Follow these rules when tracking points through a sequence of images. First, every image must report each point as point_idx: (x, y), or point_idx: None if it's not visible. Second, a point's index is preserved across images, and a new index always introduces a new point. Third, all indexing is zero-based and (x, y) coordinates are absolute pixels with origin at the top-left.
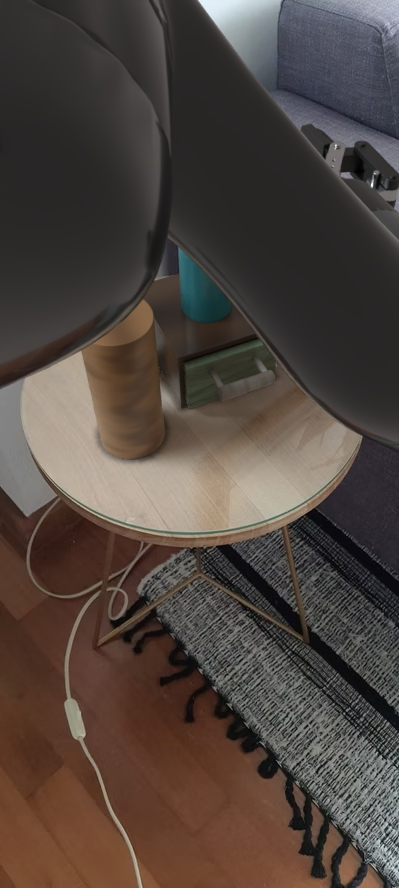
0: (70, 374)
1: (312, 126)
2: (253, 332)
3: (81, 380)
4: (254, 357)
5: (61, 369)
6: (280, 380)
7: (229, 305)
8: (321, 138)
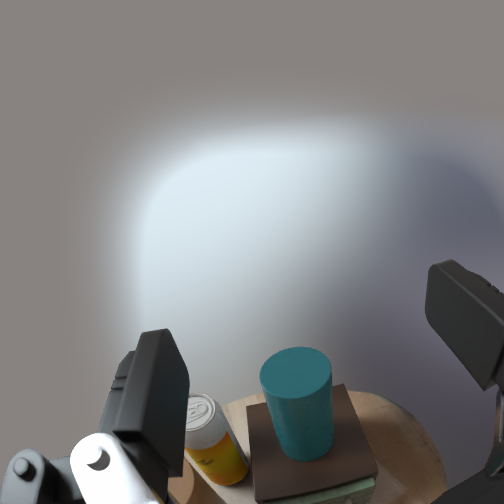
0: (188, 460)
1: (458, 266)
2: (348, 478)
3: (194, 468)
4: (345, 499)
5: (184, 453)
6: (375, 498)
7: (328, 446)
8: (493, 302)
